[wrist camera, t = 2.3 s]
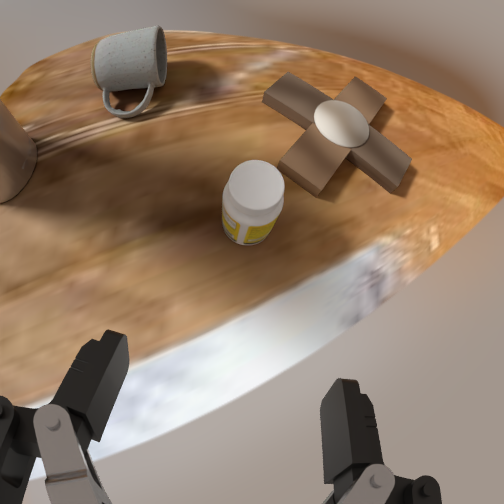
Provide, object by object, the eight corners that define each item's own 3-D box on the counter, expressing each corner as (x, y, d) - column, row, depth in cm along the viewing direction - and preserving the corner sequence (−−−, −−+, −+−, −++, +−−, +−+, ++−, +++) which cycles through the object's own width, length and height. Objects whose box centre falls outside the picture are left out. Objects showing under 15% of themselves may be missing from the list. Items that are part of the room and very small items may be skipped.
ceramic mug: (110, 66, 33) (97, 25, 25) (168, 57, 34) (163, 14, 26) (96, 126, 31) (74, 85, 23) (163, 117, 32) (153, 71, 24)
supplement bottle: (277, 209, 30) (298, 168, 22) (262, 253, 29) (280, 225, 21) (231, 192, 30) (236, 146, 22) (214, 236, 29) (213, 201, 21)
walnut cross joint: (365, 236, 31) (374, 230, 29) (226, 135, 32) (227, 124, 30) (419, 136, 35) (426, 128, 33) (310, 59, 36) (314, 50, 34)
